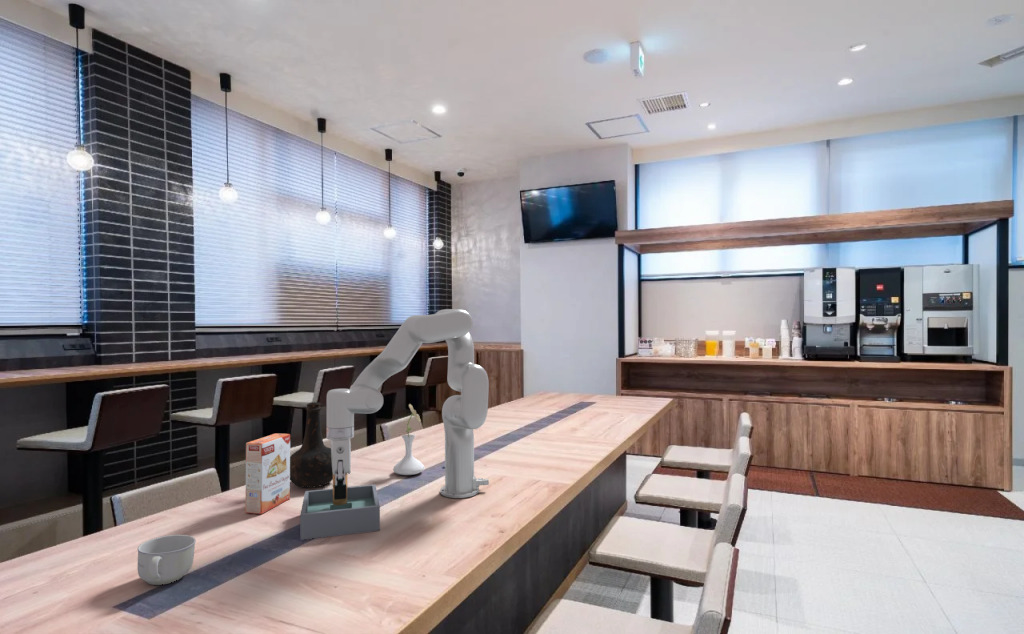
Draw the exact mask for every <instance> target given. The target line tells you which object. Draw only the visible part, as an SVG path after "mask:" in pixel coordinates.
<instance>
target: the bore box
mask: <svg viewBox="0 0 1024 634" xmlns="http://www.w3.org/2000/svg"><path fill="white" fill-rule="evenodd" d="M378 495H379V494H378V490H377V485H376V484H367V485H357V486H356V485H354V486H347V503H346V504H344V505H333V488H326V489H325V488H323V489H315V490H314V489H313V490H305V491H304V495H303V501H302V506H301V510H300V513H299V515H300V517H299V519H300V520H299V521H300V522H299V523H300V527H299V528H300V529H299V530H300V535H299V536H300V539H299V540H300V541H305V540H304V539H306V540H313V539H312V538H314V539H319V538H318V537H322V538H328V537H327V536H330V537H337V536H346V535H353V534H361V533H362V534H363V533H370V532H379V531H381V506H380V500H379V496H378Z"/></svg>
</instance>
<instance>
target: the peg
mask: <svg viewBox="0 0 1024 634" xmlns="http://www.w3.org/2000/svg"><path fill="white" fill-rule="evenodd" d="M342 473H344V471H342ZM337 474H338V472H337ZM337 477H338V476H337ZM342 477H343V476H342ZM345 484H346V498H345V499H337V500H335V499H334V485H335V475H333V480H332V489H333V505H344V504H346V503H347V487H348V473H346V472H345Z"/></svg>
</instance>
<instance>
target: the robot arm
mask: <svg viewBox="0 0 1024 634" xmlns="http://www.w3.org/2000/svg"><path fill="white" fill-rule="evenodd" d="M472 327H473V318H472V315H471V314H470V313H469V312H468V311H467V310H465V309H461V308H457V309H456V308H454V309H453V308H452V309H451V308H445V309H440V310H438V311H437V312H436V313H433V314H419V315H418V314H417V315H411V316H409V317H407V318H406V319H405V320H404V321H403V322H402V324H401V325H400V327H399V328H398V330H397V331H396V332H395V334H394V335H393V337H391V339H390V340H389V342H388V343H387V345H386V346H385V348H384V349H383V351H382V352H380V354H378V355H377V357H375V358H374V359H373V360H372V361H371V362H370V363H369V364H368V365H367V366H366V367H365V368H364V369H363V370H362V371H361V373H359V375H358V376H357V377H356V380H355V381H354V382H353V384H352V385H351V387H350V388H334V389H333V388H332V389H330V390H328V391H327V393H326V439H327V440H328V441H330V448H331V461H332V472H333V475H335V485H334V499H335V500H337V499H345V498H346V484H345V472H346V473H347V475H351V472H352V471H351V467H352V465H351V464H352V463H351V460H352V458H351V457H352V456H351V455H352V453H351V451H352V450H351V449H352V446H351V445H352V443H351V439H353V438H354V437H355V414H367V415H368V414H374V413H377V412H378V411H379V410H381V409H382V407H383V405H384V396H383V394H382V393H381V392H380V391H379V388H380V387H381V385H383V383H384V382H385V381H387V380H388V379H389V378H391V376H394V375H396V374H398V373H399V372H402V371H403V370H404V369H406V368H407V366H409V364H410V362H411V361H412V359H413V358H414V356H415V355H416V353H417V352H418V351H419V349H420V348H421V346H422V345H423V344H431V343H437V342H438V343H439V342H443V341H445V343H446V345H447V351H448V353H447V356H448V357H447V378H446V380H447V384H448V386H449V387H450V389H452V390H453V391H456V392H460V394H455V395H451V396H449V397H447V399H446V400H445V401H444V402H443V405H442V408H441V409H442V410H441V415H442V416H441V417H442V422H443V429H444V485H443V486H442V487H441V488H440V491H439V492H440V494H441V496H443V497H446V498H451V499H465V498H466V499H467V498H470V497H474V496H475V495H477V494H479V492H480V488H479V487H480V486H489V483H490V481H489V478H484V477H479V478H476V476H475V434H474V430H478V429H479V428H481V427H482V426H483V425H484V424H485V422H486V420H487V416H488V410H489V409H488V408H489V389H490V388H489V387H490V383H489V382H490V381H489V377H488V376H489V375H488V373H487V371H486V370H485V368H484V367H482V366H481V365H479V364H476V363H475V345H474V340H473V338H472V335H471V333H470V331H472ZM342 471H344V473H342ZM337 472H338V474H337ZM337 476H338V477H337ZM342 476H343V477H342Z"/></svg>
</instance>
